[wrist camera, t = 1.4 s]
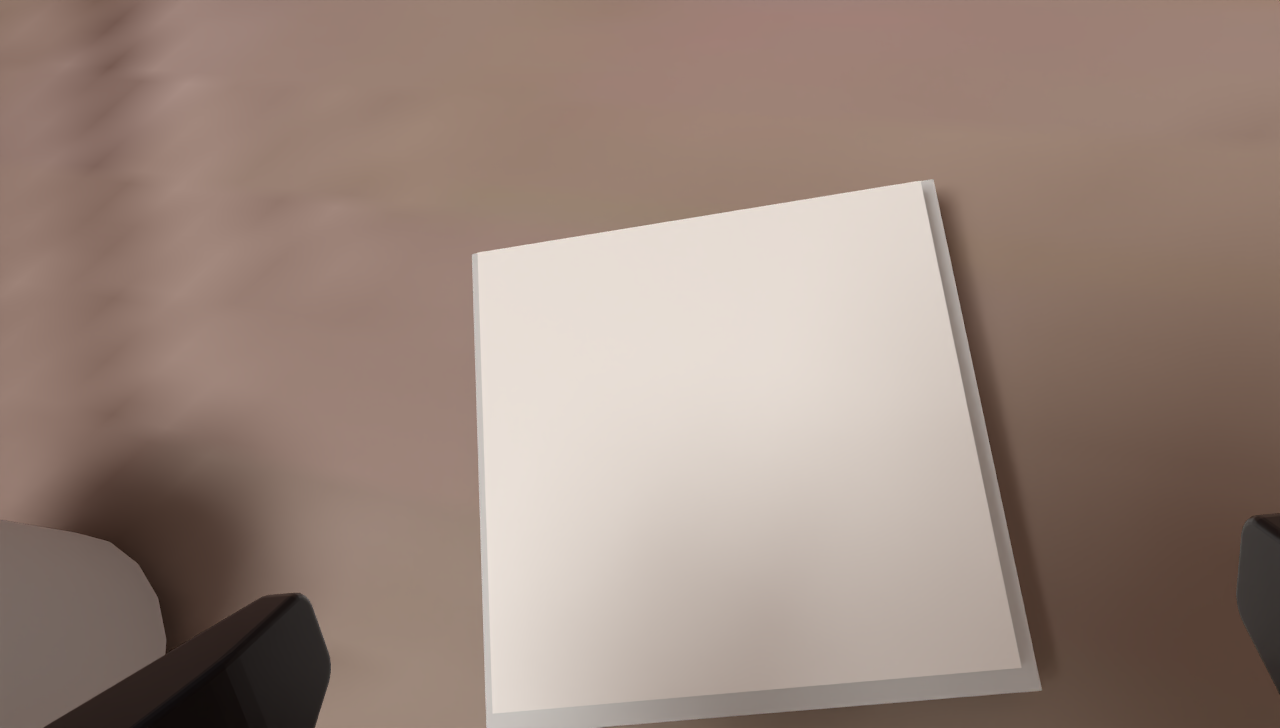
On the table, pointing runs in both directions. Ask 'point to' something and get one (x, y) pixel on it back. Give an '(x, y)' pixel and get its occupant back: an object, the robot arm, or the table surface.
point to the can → (68, 622)
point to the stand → (738, 471)
